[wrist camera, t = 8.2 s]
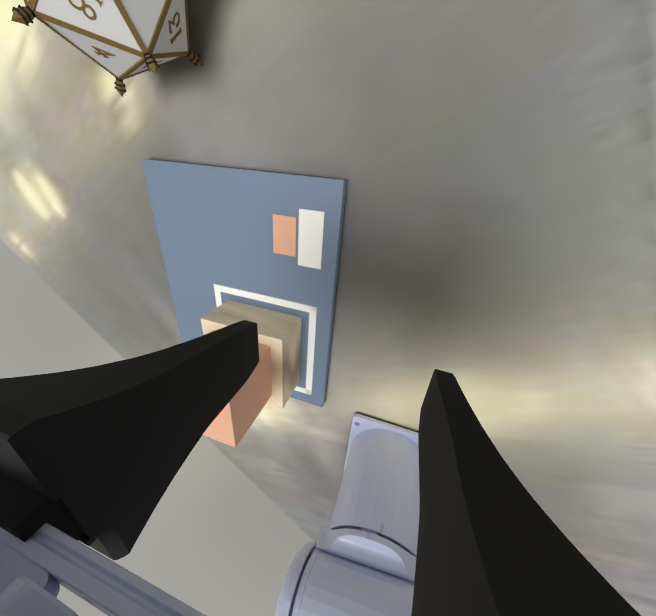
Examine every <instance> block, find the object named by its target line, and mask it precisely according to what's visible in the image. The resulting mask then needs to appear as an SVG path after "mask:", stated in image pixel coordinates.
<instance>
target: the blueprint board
mask: <svg viewBox="0 0 656 616" xmlns="http://www.w3.org/2000/svg"><path fill="white" fill-rule="evenodd" d="M141 161H142V166H143V170H144V175H145V179H146V183H147V188H148V192H149V197H150V201H151V206H152V210H153V215H154V219H155V223H156V228H157V232H158V237H159V241H160V246H161V250H162V255H163V259H164V263H165V268H166V272H167V277H168V281H169V286H170V290H171V294H172V299H173V303H174V308H175V312H176V317H177V321H178V326H179V330H180V334H181V339H182V343H184V342H186V341H189V340H192V339H195V338H198V337H200V336H203V329H202V324H201V318H202V317H203V316H205V315H206V314H208V313H209V312H211V311H212V310H214V309H215V308H217V307H218V306H220V305H221V304H223V303H225V302H226V301H228V300H232V301H236V302H240V303H244V304H248V305H252V306H256V307H261V308H265V309H269V310H273V311H277V312H281V313H285V314H289V315H294V316H298V317H302V320H301V351H300V381H299V382H298V384H297V386H296V387H295V389H294V391H293V392H292V394H291V396H290V397H293V398H296V399H299V400H302V401H305V402H308V403H311V404H314V405H317V406H320V407H323V405H324V403H325V399H326V389H327V379H328V369H329V359H330V349H331V339H332V329H333V319H334V308H335V298H336V288H337V278H338V268H339V258H340V248H341V238H342V228H343V218H344V207H345V197H346V187H347V180H345V179H335V178H326V177H316V176H307V175H297V174H288V173H278V172H269V171H259V170H249V169H240V168H230V167H221V166H211V165H202V164H192V163H183V162H173V161H164V160H154V159H141Z"/></svg>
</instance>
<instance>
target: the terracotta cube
mask: <svg viewBox="0 0 656 616" xmlns="http://www.w3.org/2000/svg"><path fill="white" fill-rule="evenodd" d="M213 331H214V330H213ZM213 331H211V332H213ZM258 344H259V363H258V364H257V366H256V368H255V369H254V371H253V373H252V374H251V376H250V377H249V379H248V380H247V381H246V383H245V384H244V385H243V386H242V387H241V389H240V390H239V391H238V392H237V393H236V395H235V396H234V397H233V398H232V399H231V401H230V402H229V403H228V404H227V405H226V406H225V408H224V409H223V410H222V411H221V412H220V414H219V415H218V416H217V417H216V418H215V419H214V421H213V422H212V423H211V424H210V426H209V427H208V428H207V429H206V431H205V432H204V433H203V435H205V436H208V437H210V438H213V439H215V440H218V441H220V442H223V443H225V444H228V445H230V446H233V447H235V448H236V446H237V445H238V443H239V442H240V440H241V439H242V437H243V436H244V434H245V433H246V432H247V430H248V429H249V427H250V426H251V424H252V423H253V421H254V420H255V419H256V417H257V416H258V414H259V413H260V411H261V410H262V408H263V407H264V406H265V404H266V403H267V401H268V400H269V398H270V397H271V395H272V384H271V350H270V346H268V345H264V344H260V343H258Z"/></svg>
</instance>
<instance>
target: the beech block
mask: <svg viewBox="0 0 656 616" xmlns="http://www.w3.org/2000/svg"><path fill="white" fill-rule="evenodd" d="M243 320H247V321H251V322H255V323H257V327H258V343H260V344H264V345H268V346H270V350H271V384H272V395H271V397H270V398H269V400H268V401H267V403H268V404H271V405H274V406H277V407H280V408H283V407H284V405H285V404H286V402H287V401H288V399H289V397H290V396H291V394H292V392H293V391H294V389H295V387H296V386H297V384H298V382H299V381H300V351H301V320H302V317H298V316H294V315H289V314H285V313H281V312H277V311H273V310H269V309H265V308H261V307H256V306H252V305H248V304H244V303H240V302H236V301H232V300H228V301H226V302H225V303H223V304H221V305H220V306H218V307H217V308H215V309H214V310H212V311H211V312H209V313H208V314H206V315H205V316H203V317H202V318H201V324H202V329H203V335H205V334H208V333H210V332H211V331H213V330H214V331H216V330H218V329H221V328H223V327H226V326H228V325H231V324H234V323H237V322H239V321H243Z"/></svg>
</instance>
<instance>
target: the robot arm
mask: <svg viewBox="0 0 656 616" xmlns="http://www.w3.org/2000/svg"><path fill="white" fill-rule="evenodd" d="M258 363H259V344H258V327H257V323H255V322H251V321H247V320H243V321H239V322H237V323H234V324H231V325H228V326H226V327H223V328H221V329H218V330H216V331H213V332H210V333H208V334H205V335H203V336H200V337H198V338H195V339H192V340H189V341H186V342H184V343H181V344H178V345H175V346H172V347H169V348H166V349H163V350H160V351H157V352H153V353H150V354H146V355H143V356H139V357H135V358H131V359H127V360H123V361H118V362H114V363H109V364H104V365H100V366H94V367H89V368H83V369H77V370H71V371H64V372H58V373H50V374H42V375H33V376H24V377H15V378H4V379H0V616H78V615H77V614H76V613H75V612H74V611H73V610H72V609H70V608H69V607H68V606H66V605H65V604H64V603H62V602H61V601H59V600H58V599H57V595H58V592H59V588H60V585H59V584H61V585H62V586H64V587H65V588H67V589H68V590H70V591H71V592H73V593H74V594H76V595H77V596H79V597H81V598H82V599H84V600H85V601H87V602H88V603H90V604H91V605H93V606H95V607H96V608H98V609H99V610H101V611H102V612H104V613H105V614H107V615H108V616H206V615H204V614H202V613H201V612H199V611H197V610H195V609H194V608H192V607H190V606H188V605H187V604H185V603H183V602H182V601H180V600H178V599H176V598H175V597H173V596H171V595H169V594H168V593H166V592H165V591H163V590H161V589H159V588H158V587H156V586H154V585H152V584H151V583H149V582H147V581H145V580H144V579H142V578H140V577H139V576H137V575H135V574H134V573H132V572H130V571H128V570H127V569H125V568H123V567H122V566H120V565H118V564H116V563H115V562H113V561H111V560H110V559H108V558H106V557H104V556H103V555H101V554H99V553H98V552H96V551H94V550H92V549H91V548H89V547H87V546H86V545H88V546H91V547H92V548H94V549H95V550H97V551H99V552H101V553H103V554H104V555H106V556H107V557H109V558H111V559H113V560H118V559H120V558H122V557H124V556H126V555H127V554H129V553H130V551H131V549H132V548H133V546H134V544H135V542H136V540H137V539H138V537H139V535H140V533H141V531H142V530H143V528H144V526H145V525H146V523H147V521H148V519H149V517H150V516H151V514H152V512H153V511H154V508H155V507H156V505H157V504H158V502H159V500H160V499H161V497H162V496H163V494H164V492H165V491H166V489H167V487H168V486H169V484H170V483H171V481H172V479H173V478H174V476H175V475H176V473H177V472H178V470H179V469H180V467H181V466H182V464H183V462H184V461H185V459H186V458H187V456H188V455H189V453H190V452H191V451H192V449H193V448H194V446H195V445H196V443H197V442H198V441H199V439H200V438H201V436H202V435H203V433H204V432H205V431H206V429H207V428H208V427H209V426H210V424H211V423H212V422H213V421H214V419H215V418H216V417H217V416H218V415H219V414H220V412H221V411H222V410H223V409H224V408H225V406H226V405H227V404H228V403H229V402H230V401H231V399H232V398H233V397H234V396H235V395H236V393H237V392H238V391H239V390H240V389H241V387H242V386H243V385H244V384H245V383H246V381H247V380H248V379H249V377H250V376H251V374H252V373H253V371H254V369H255V368H256V366H257V364H258ZM357 422H358V423H357ZM78 540H79V541H81V542H83V543H84V544H86V545H84V544H82V543H81V542H79V541H78ZM275 616H641V615H640V614H639V613H638V612H637V611H636V610H635V609H634V608H633V607H632V606H631V605H630V604H629V603H628V602H627V601H626V600H625V599H624V598H623V597H622V596H621V595H620V594H619V593H618V592H617V591H616V590H615V589H614V588H613V587H612V586H611V585H610V584H609V583H608V582H607V581H606V580H605V579H604V577H603V576H602V575H601V574H600V573H599V572H598V571H597V570H596V569H595V568H594V567H593V566H592V565H591V564H590V563H589V562H588V561H587V560H586V558H585V557H584V556H583V555H582V554H581V553H580V552H579V551H578V550H577V549H576V547H575V546H574V545H573V544H572V543H571V542H570V541H569V540H568V539H567V538H566V536H565V535H564V534H563V533H562V532H561V531H560V529H559V528H558V527H557V526H556V525H555V524H554V523H553V521H552V520H551V519H550V518H549V517H548V516H547V514H546V513H545V512H544V511H543V510H542V509H541V507H540V506H539V505H538V504H537V502H536V501H535V500H534V499H533V498H532V496H531V495H530V494H529V493H528V491H527V490H526V489H525V488H524V486H523V485H522V484H521V482H520V481H519V480H518V478H517V477H516V476H515V474H514V473H513V472H512V470H511V469H510V468H509V466H508V465H507V464H506V462H505V461H504V459H503V458H502V456H501V455H500V454H499V452H498V451H497V449H496V448H495V446H494V445H493V443H492V442H491V440H490V438H489V437H488V435H487V434H486V432H485V430H484V429H483V427H482V425H481V424H480V422H479V420H478V419H477V417H476V415H475V414H474V412H473V410H472V408H471V407H470V405H469V403H468V401H467V399H466V398H465V396H464V394H463V392H462V390H461V388H460V386H459V384H458V382H457V380H456V378H455V376H454V375H453V374H452V373H448V372H444V371H440V370H437V369H435V370H434V372H433V375H432V378H431V381H430V384H429V387H428V390H427V393H426V396H425V399H424V401H423V404H422V407H421V413H420V423H419V433H417V432H414V431H411V430H408V429H405V428H402V427H399V426H395V425H392V424H389V423H386V422H383V421H380V420H376V419H373V418H370V417H367V416H364V415H361V414H354V416H353V419H352V425H351V431H350V436H349V442H348V448H347V454H346V459H345V465H344V474H343V478H342V482H341V485H340V489H339V492H338V496H337V499H336V503H335V506H334V510H333V514H332V517H331V521H330V524H329V528H328V529H324V528H321V530H320V533H319V537H318V540H317V543H315V542H308V543H307V544H306V545H305V546H304V547H303V548H302V549H301V550H300V551H299V552H298V553H297V555H296V556H295V558H294V559H293V561H292V563H291V565H290V567H289V570H288V572H287V575H286V577H285V580H284V583H283V586H282V589H281V593H280V596H279V600H278V604H277V608H276V612H275Z"/></svg>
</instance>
